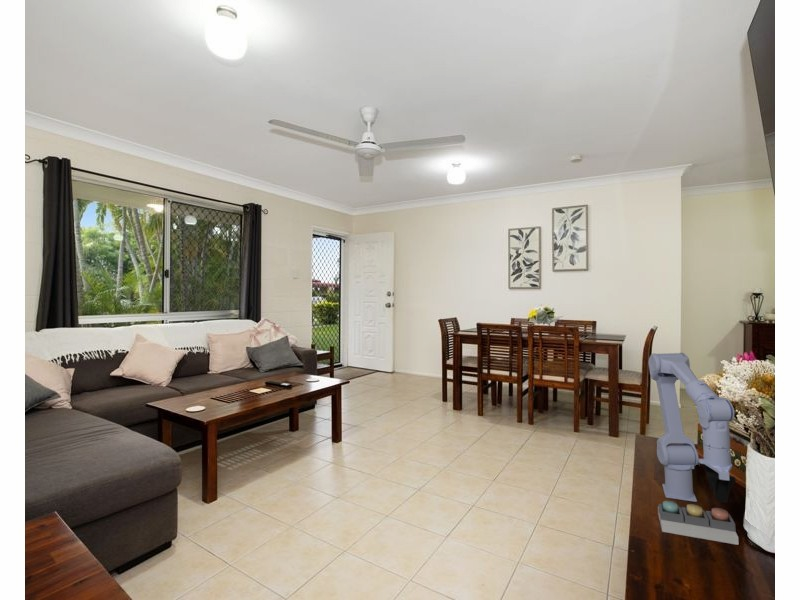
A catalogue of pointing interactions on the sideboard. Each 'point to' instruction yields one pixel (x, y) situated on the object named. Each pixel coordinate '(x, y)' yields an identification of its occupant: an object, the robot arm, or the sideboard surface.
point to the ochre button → (694, 510)
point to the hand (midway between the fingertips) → (718, 496)
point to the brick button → (719, 514)
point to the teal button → (670, 507)
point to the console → (698, 525)
